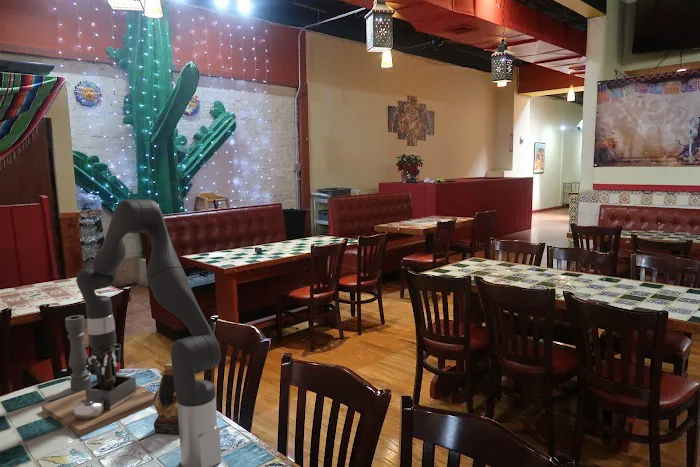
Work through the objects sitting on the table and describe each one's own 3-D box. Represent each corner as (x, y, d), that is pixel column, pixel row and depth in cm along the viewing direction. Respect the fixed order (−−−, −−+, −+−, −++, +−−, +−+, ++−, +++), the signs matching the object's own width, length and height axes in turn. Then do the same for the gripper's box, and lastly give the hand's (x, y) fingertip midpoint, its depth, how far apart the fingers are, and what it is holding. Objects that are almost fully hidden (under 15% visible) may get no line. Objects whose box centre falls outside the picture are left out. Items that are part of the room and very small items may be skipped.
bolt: (115, 397, 151) (110, 351, 149) (97, 399, 150) (92, 353, 148) (119, 389, 157) (114, 344, 155) (102, 391, 155) (97, 346, 154)
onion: (103, 374, 177) (102, 353, 176) (121, 371, 180) (119, 351, 178) (103, 380, 172) (101, 359, 171) (121, 377, 174) (119, 356, 173)
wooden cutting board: (160, 401, 156) (160, 395, 156) (80, 436, 136) (80, 429, 136) (119, 381, 171) (119, 376, 171) (42, 411, 151) (41, 405, 151)
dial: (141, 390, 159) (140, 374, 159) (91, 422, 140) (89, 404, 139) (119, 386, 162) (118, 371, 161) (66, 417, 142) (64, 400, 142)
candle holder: (67, 389, 166) (60, 318, 162) (84, 382, 171) (77, 313, 168) (78, 392, 163) (71, 321, 159) (95, 385, 168) (89, 316, 165)
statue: (149, 434, 137) (144, 367, 134) (166, 420, 145) (161, 356, 142) (187, 438, 134) (182, 370, 132) (203, 424, 142) (198, 359, 139)
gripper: (96, 337, 143) (103, 392, 145) (126, 322, 157) (132, 372, 159) (74, 337, 144) (80, 391, 146) (106, 322, 158) (111, 372, 160)
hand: (107, 381), depth 153 cm, fingers closed on bolt, 4 cm apart
